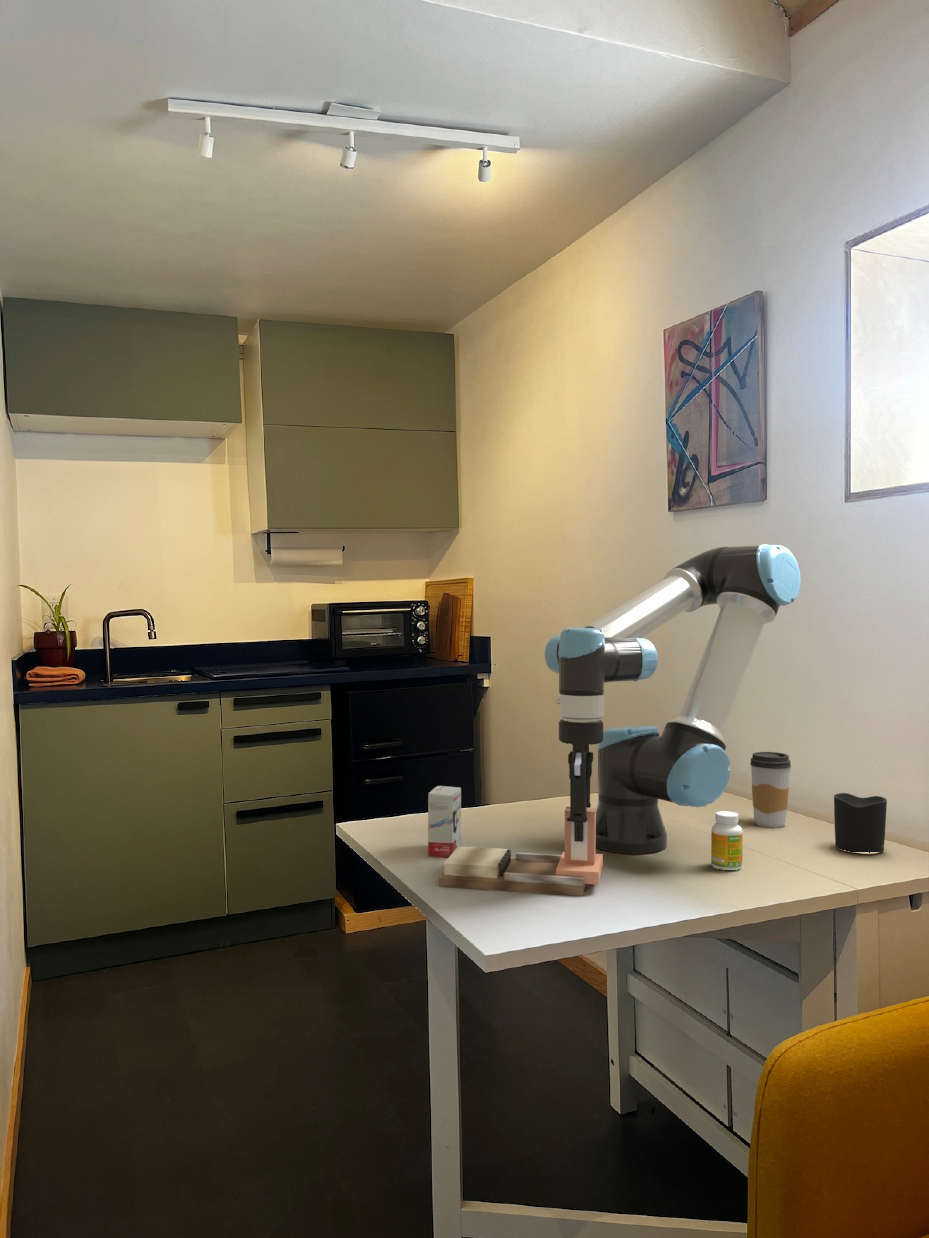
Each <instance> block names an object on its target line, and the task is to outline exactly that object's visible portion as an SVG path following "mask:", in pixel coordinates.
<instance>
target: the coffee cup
mask: <svg viewBox="0 0 929 1238" xmlns="http://www.w3.org/2000/svg"><path fill="white" fill-rule="evenodd" d="M791 762H792V761H791V760H790V757H789V755H788V754H787V753H783V752H778V751H777V752H776V751H757V752H753V753H752V757H750V763H749V764H750V769H751V792H752V807H753V821H754V822H755V825H757V826H759V827H763V828H772V829H774V828H777V829H778V828H779V829H780V828H783V827H784V826H785V824H786V823H787V812H788V802H789V801H788V800H789V789H790V787H789V785H790V784H789V783H790V775H791V774H790V773H791V771H790V770H791V767H792V765H791Z"/></svg>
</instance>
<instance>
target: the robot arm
mask: <svg viewBox="0 0 929 1238" xmlns="http://www.w3.org/2000/svg"><path fill="white" fill-rule="evenodd" d="M801 580H802V579H801V571H800V567H799V564H798V561H797V559H796V557H795V556H794V554H793V553H792V551H790V550H789V549H788V548H787V547H785V546H783V545H780V544H779V545H778V544H766V543H764V544H760V545H745V546H743V545H742V546H719V547H716V548H711V549H709V550H706V551H703V552H701V553H700V554H697V555H695V556H693V557H691V558H689V559H687V560H686V561H683V562H682V563H680V564H678V565H677V566H675V567H674V568H672V569H670V570H668V572H667V573H666V574H665V576H664V578H663V580H661V581H659V582H658V583H656V584H655V585H653V586H651V587H649V588H648V589H646V590H645V591H643V592H641V593H639V594H638V595H636V596H635V597H633V598H631V599H629V600H628V601H626V602H625V603H622V604H621V605H620V606H618V607H616V608H614V609H613V610H611V611H609V612H608V613H606V614H605V615H603V616H601V617H600V618H598V619H596V620H595V621H593V622H592V623H591V622H590V623H589V624H588V625H586V626H584V627H566V628H564V629H563V630H561V632H560V634H559V635H555V636H553V637H551V638H550V639H549V640H548V642H547V644H546V645H545V649H544V660H545V663H546V665H547V667H548V669H549V670H550V671H552V672H553V673H555V674H558V681H559V682H558V684H559V685H558V687H559V688H558V693H559V694H558V696H559V698H556V699H555V701H554V702H555V704H556V705H560V706H559V707H558V709H559V710H558V715H559V717H561V718H562V719H560V720H559V721H558V741H559V742H561V743H563V744H567V745H568V744H570V745H572V749H571V750H572V751H569V753H568V755H567V763H568V768H569V771H568V772H569V776H568V777H569V781H570V783H569V784H570V785H569V790H570V792H569V794H570V797H569V798H570V800H569V802H570V803H569V805H570V806H569V807H570V818H567V821H569V822H571V860H585V861H587V847H588V821H587V817H586V816H587V808H592V807H591V806H592V805H591V777H592V775H593V762H594V761H593V760H594V752H591V751H590V745H598V748H597V783H598V786H597V787H598V788H597V790H598V796H597V797H598V801H597V806H596V849H599V850H603V851H608V852H613V853H621V854H650V853H655V852H659V851H663V850H665V849H666V848H667V847H668V835H667V830H666V827H665V823H664V821H663V817H662V815H661V811H660V808H659V800H662V801H666V802H670V803H674V804H676V805H678V806H681V807H693V808H702V807H706V806H708V805H711V804H713V803H715V801H716V800H718V799H719V798H720V797H721V796H722V795H723V793H724V792H725V789H727V786H728V784H729V780H730V776H731V769H730V768H729V767H730V766H731V762H730V758H729V756H728V754H727V752H726V749H727V742H726V741H725V739H724V737H723V733H724V730H725V728H726V725H727V722H728V720H729V716H730V714H731V711H732V710H733V706H734V704H735V701H736V698H737V696H738V692H739V691H740V687H741V685H742V683H743V680H744V678H745V675H746V673H747V669H748V667H749V665H750V662H751V659H752V656H753V654H754V651H755V649H756V647H757V643H758V641H759V638H760V635H761V633H762V630H763V628H764V625H767V624H769V623H772V622H773V621H775V619H776V617H777V614H778V611H779V609H780V606H788V605H791V604H792V603H794V602H795V601H796V599H797V598H798V596H799V593H800V590H801V585H802V584H801V583H802V581H801ZM709 605H710V606H711V605H718V607H719V609H720V611H719V612H718V615H717V618H716V621H715V622H714V625H713V628H712V630H711V633H710V635H709V638H708V640H707V643H706V645H705V648H704V651H703V652H702V655H701V658H700V660H699V663H698V666H697V668H696V670H695V673H694V676H693V678H692V681H691V683H690V686H689V688H688V690H687V693H686V696H685V698H684V701H683V703H682V706H681V708H680V711H679V714H678V716H677V717H676V718H673V719H670V720H668V721H667V722H666V724H665V726H664V728H663V731H662V733H660V730H659V728H658V727H657V726H655V725H642V726H639V725H638V726H627V727H625V726H623V727H615V728H607V729H604V722H603V720H601V719H602V718H603V717H604V716H605V715H604V713H605V712H604V710H605V702H604V701H605V693H604V691H605V689H604V688H605V683H611V682H612V683H614V682H629V681H630V682H638V681H642V680H646V679H649V678H651V677H652V676H653V675H654V674H655V672H656V670H657V668H658V664H659V663H658V660H659V659H658V657H659V656H658V651H657V648H656V646H655V645H654V644H653V643H652V641H651V640H649V639H647V638H643V637H645V636H647V635H648V634H650V633H651V632H653V631H655V630H656V629H658V628H660V627H661V626H662V625H664V624H666V623H668V622H669V621H670V620H672V619H674V618H676V617H677V616H679V615H680V614H682V613H684V612H685V613H691V612H695V611H696V610H698V609H699V608H701V607H704V606H709ZM660 734H661V736H660Z"/></svg>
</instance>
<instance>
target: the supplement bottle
mask: <svg viewBox="0 0 929 1238" xmlns="http://www.w3.org/2000/svg"><path fill="white" fill-rule="evenodd" d="M714 819H715V822H716V823H714V824H713V825H712V826H711V830H710V831H711V834H710V835H711V836H710V837H711V842H710V845H711V846H710V847H711V848H710V849H711V851H710V855H711V856H710V858H711V859H710V864H711V866H713V867H712V868H714V869H716V870H719V869H723V870H722V871H725V870H736V869H739V870H741V869H742V868H743V867H742V866H743V828H742V826H740V825H739V824H738V823H739V819H740V818H739V813H737V812H733V811H726V810H724V811H723V810H721V811H716V812H715V817H714ZM736 871H737V870H736Z"/></svg>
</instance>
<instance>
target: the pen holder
mask: <svg viewBox="0 0 929 1238" xmlns="http://www.w3.org/2000/svg"><path fill="white" fill-rule="evenodd" d="M887 804H888V799H887V798H885V797H883V796H879V795H873V796H868V797H859V796H856V795H854V794H851V793H847V792H841V793H836V794H834V795H833V810H834V812H833V813H834V818H833V819H834V842H835V847H836V848H837V847H838V848H839V849H838V848H837V849H838V850H840V849H842V850H846V851H850V852H869V853H870V852H881V851H882V852H883V851H884V850H885V838H886V823H887V808H888V807H887ZM842 850H841V851H842Z"/></svg>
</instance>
